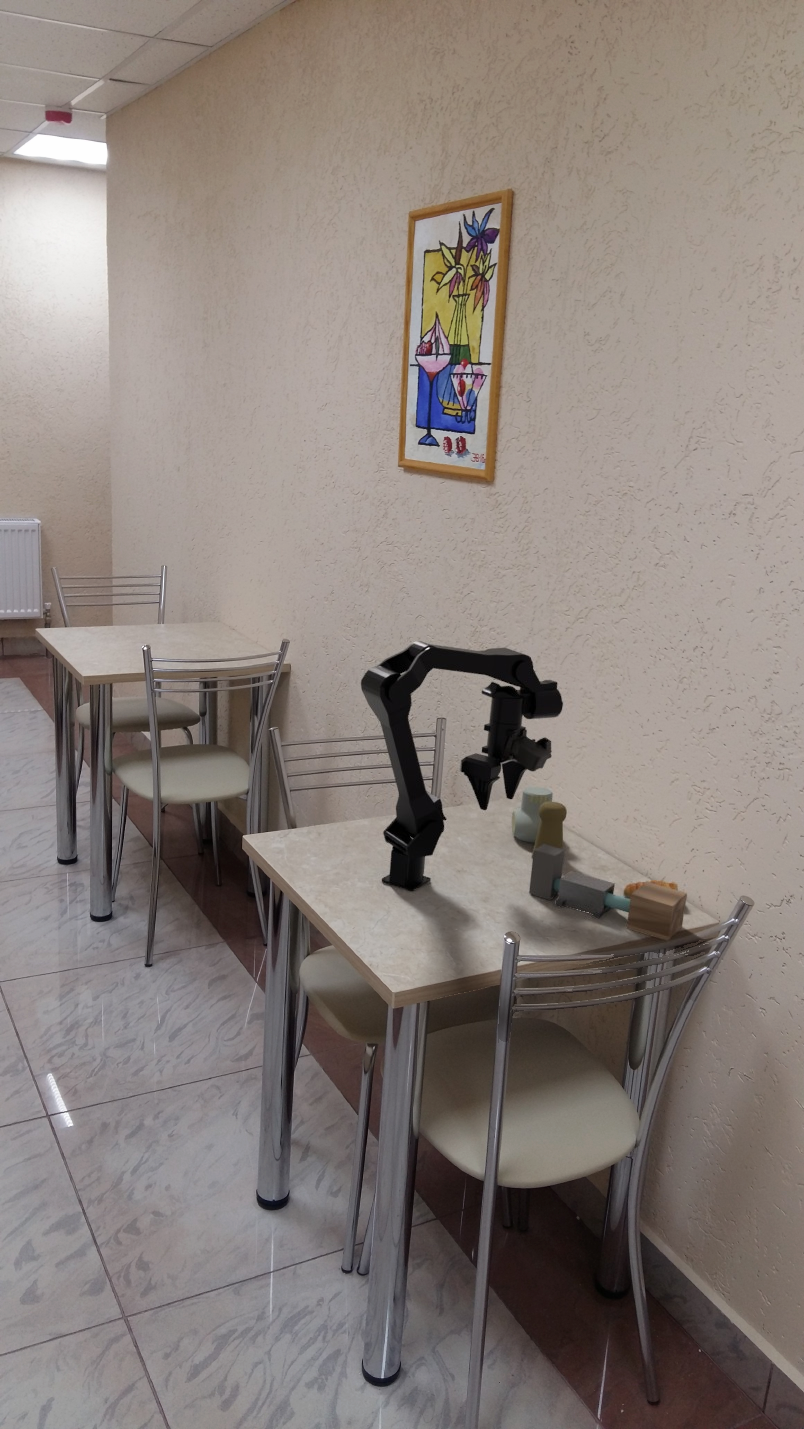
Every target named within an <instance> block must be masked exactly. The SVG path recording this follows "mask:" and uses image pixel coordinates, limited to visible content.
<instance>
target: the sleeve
mask: <svg viewBox="0 0 804 1429" xmlns="http://www.w3.org/2000/svg"><path fill="white" fill-rule="evenodd" d="M615 884H616V883H615V882H611V881H608V880H604V879H600V878H597V877H594V876H590V875H587V874H584V873H579V872H575V871H573V870H571V871H569V872H568V873H566V874H565V875H563V876H562V878H561V879H560V885H559V894H557V895H558V896H557V899H555V904H554V906H555V905H556V906H555V907H559V906H560V907H559V908H563V907H566V906H568V907H567V908H569V907H571V908H570V909H573V908H574V909H573V910H576V909H578V910H577V911H579V910H581V911H580V912H582V911H585V912H584V913H586V912H589V913H591V914H590V915H592V914H593V915H592V916H594V917H595V918H594V917H593V918H594V919H597V920H600V918H602V917H603V916H604V915H605V914H607V913H608V912H610V911H611V910H612V909H613V908H611V907H608V906H605V905H604V901H605V894H606V893H610V894H614V892H615ZM562 906H563V907H562ZM589 913H588V914H589Z"/></svg>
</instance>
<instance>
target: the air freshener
mask: <svg viewBox="0 0 804 1429" xmlns="http://www.w3.org/2000/svg"><path fill="white" fill-rule="evenodd" d="M544 802H553V792H552V790H550V789H549V788H546V787H542V786H533V785H532V786H527V787H525V788H523V789H522V794H521V803H520V804H521V805H520V807H518V808H516V809H514V810H513V811H512V813H511V833H512V835H513V836H514V837H515V838H516V839H518V840H521V841H522V842H527V843H531V844H535V841H536V837H537V833H538V829H539V825H540V821H541V818H540V817H539V808H540V806H541V804H542V803H544Z"/></svg>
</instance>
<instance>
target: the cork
mask: <svg viewBox="0 0 804 1429" xmlns="http://www.w3.org/2000/svg"><path fill="white" fill-rule="evenodd" d="M567 813H568V812H567V807H566V806H565V805H564V804H563V803H562V802H561V803H560V802H557V801H552V802H544V803H542V804H541V806H540V808H539V817H540V818H541V821H540V825H539V829H538V833H537V837H536V841H535V843H534V846H533V850H532V853H531V859H532V860H533V853H534V850H535V849H536V848H538V847H540V846H541V845H543V844H546V845H550V846H553V847H557V848H560V849H564V827H563V826H564V825H563V824H564V823H563V822H565V820H566V818H567Z"/></svg>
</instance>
